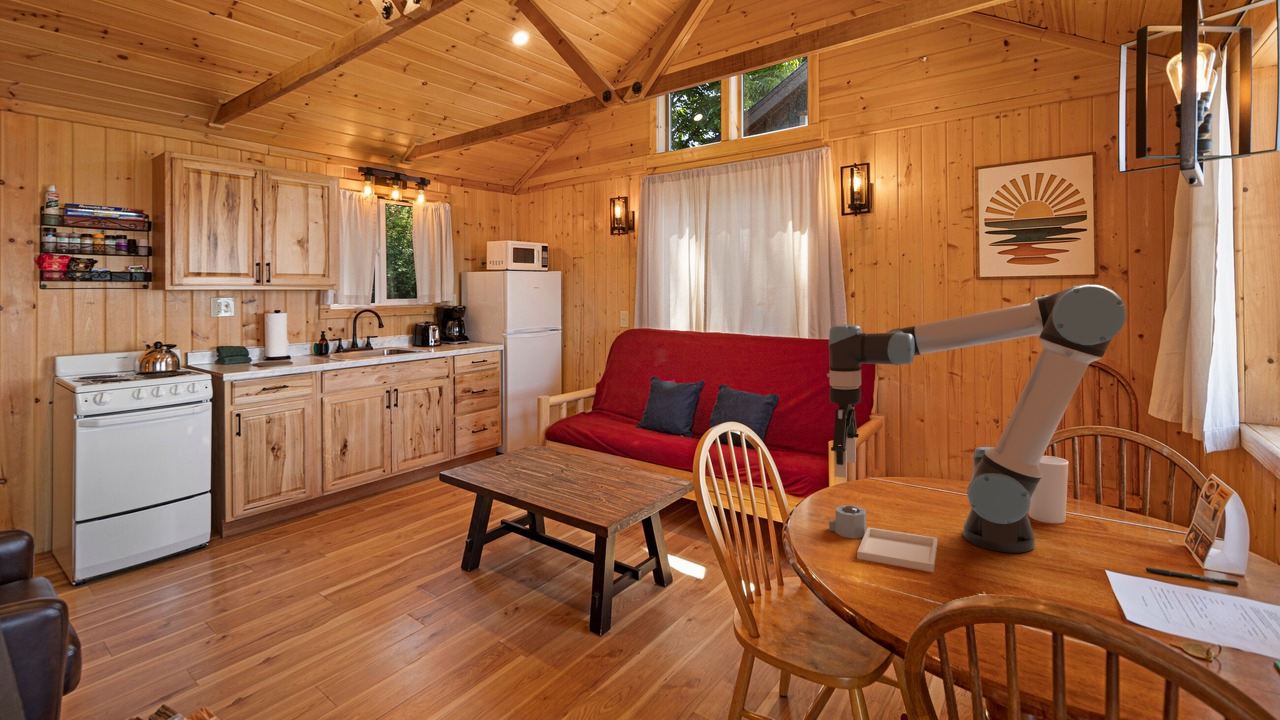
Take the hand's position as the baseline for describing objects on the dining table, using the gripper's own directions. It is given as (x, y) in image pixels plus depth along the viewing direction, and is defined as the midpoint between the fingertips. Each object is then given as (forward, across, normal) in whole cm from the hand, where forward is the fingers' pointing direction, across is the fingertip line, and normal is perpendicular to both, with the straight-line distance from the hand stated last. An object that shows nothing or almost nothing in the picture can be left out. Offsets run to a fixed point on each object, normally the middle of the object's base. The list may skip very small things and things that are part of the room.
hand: (845, 469), depth 154 cm
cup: (+18, -33, +46) cm, 60 cm away
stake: (+17, 0, +1) cm, 17 cm away
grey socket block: (+17, 0, +1) cm, 17 cm away
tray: (+17, +7, +13) cm, 23 cm away
